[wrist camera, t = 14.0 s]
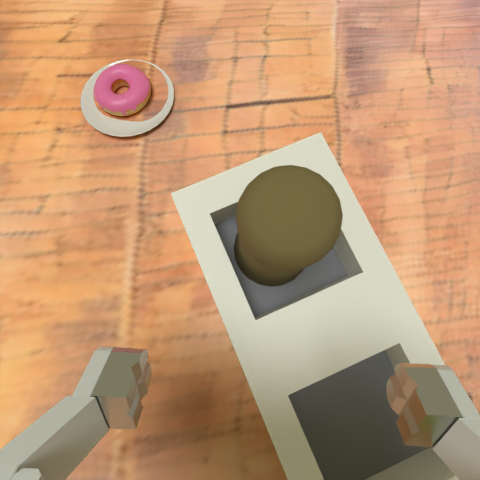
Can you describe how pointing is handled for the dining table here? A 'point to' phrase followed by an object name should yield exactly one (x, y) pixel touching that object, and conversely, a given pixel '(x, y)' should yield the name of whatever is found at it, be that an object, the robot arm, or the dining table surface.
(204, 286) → the dining table surface
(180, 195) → the socket rail
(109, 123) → the donut
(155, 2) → the dining table surface
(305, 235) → the olive knobbed peg
